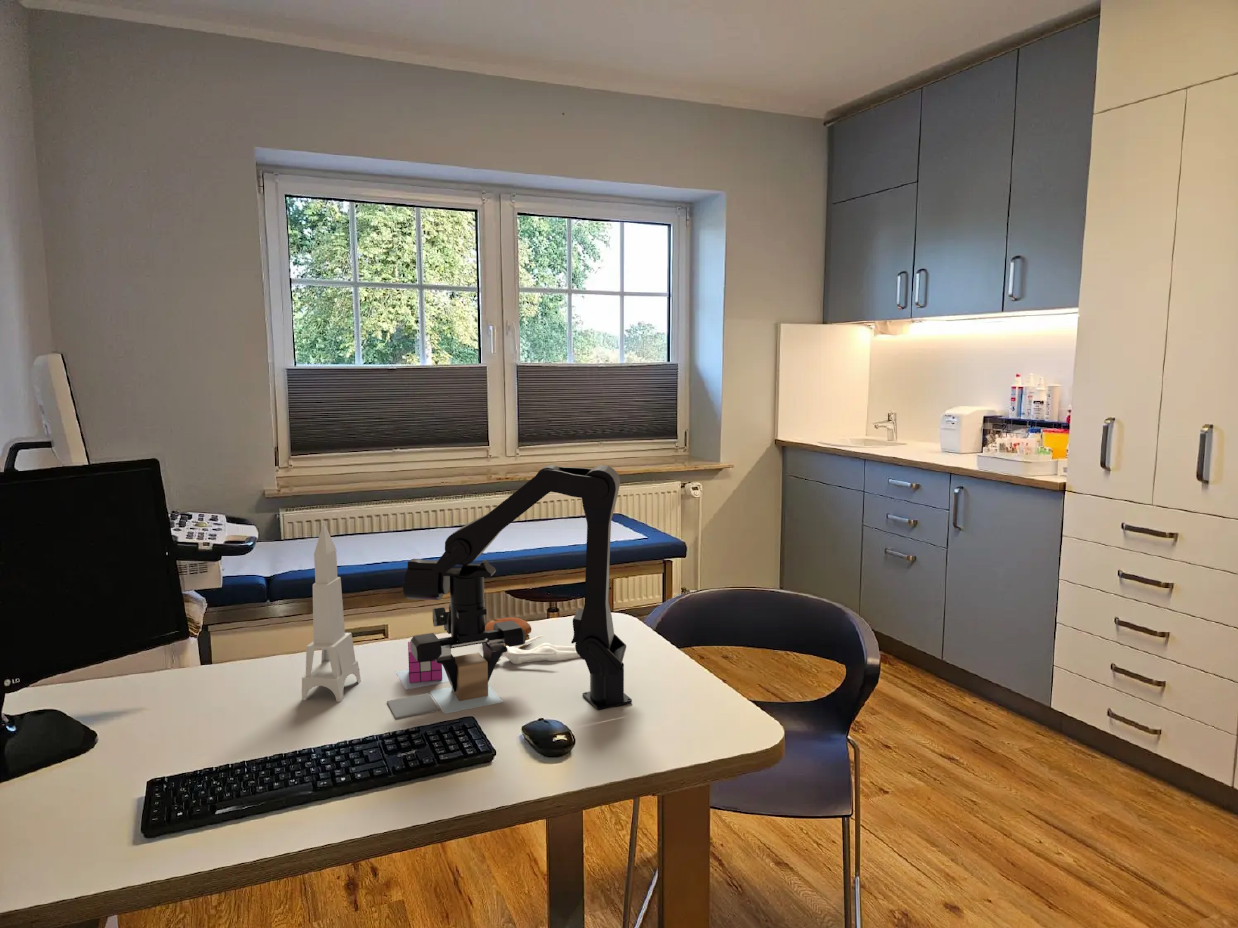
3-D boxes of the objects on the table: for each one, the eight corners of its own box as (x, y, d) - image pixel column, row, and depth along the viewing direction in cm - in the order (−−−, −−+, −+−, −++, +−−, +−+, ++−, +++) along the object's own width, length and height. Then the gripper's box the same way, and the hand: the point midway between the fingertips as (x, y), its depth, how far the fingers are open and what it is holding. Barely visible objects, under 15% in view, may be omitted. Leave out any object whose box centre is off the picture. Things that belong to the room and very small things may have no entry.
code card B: (456, 680, 145) (456, 679, 145) (405, 689, 141) (405, 689, 141) (443, 663, 153) (443, 662, 153) (395, 671, 149) (395, 671, 149)
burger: (524, 652, 159) (524, 630, 159) (478, 651, 160) (477, 628, 160) (535, 636, 169) (535, 614, 168) (492, 634, 170) (491, 612, 169)
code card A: (503, 702, 136) (503, 701, 136) (444, 714, 132) (444, 713, 132) (485, 681, 145) (485, 680, 145) (429, 691, 141) (429, 690, 141)
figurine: (606, 650, 166) (485, 654, 157) (608, 632, 166) (486, 636, 157) (623, 668, 156) (495, 674, 148) (625, 650, 156) (496, 655, 147)
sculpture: (361, 681, 145) (353, 517, 141) (340, 701, 137) (332, 527, 133) (324, 680, 145) (315, 516, 141) (301, 699, 137) (292, 526, 133)
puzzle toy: (409, 683, 144) (408, 652, 143) (409, 671, 149) (407, 641, 148) (442, 679, 145) (441, 649, 145) (440, 668, 151) (439, 638, 150)
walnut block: (488, 695, 139) (487, 661, 138) (459, 701, 136) (458, 667, 136) (479, 684, 143) (478, 652, 142) (451, 690, 141) (450, 657, 140)
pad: (439, 711, 133) (439, 708, 133) (395, 719, 130) (395, 717, 130) (428, 695, 139) (428, 692, 139) (387, 703, 136) (387, 700, 136)
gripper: (504, 581, 149) (505, 662, 151) (401, 595, 141) (404, 681, 143) (525, 597, 139) (527, 684, 141) (416, 613, 131) (419, 705, 133)
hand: (469, 687), depth 140 cm, fingers closed on walnut block, 5 cm apart
